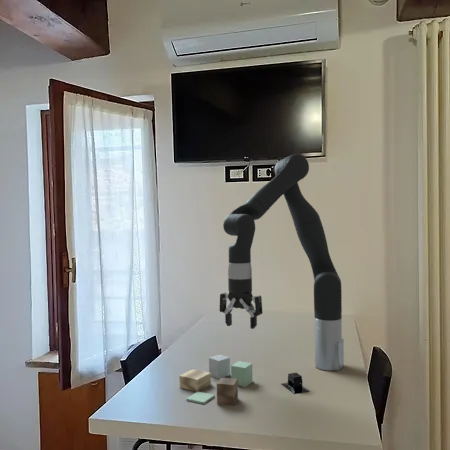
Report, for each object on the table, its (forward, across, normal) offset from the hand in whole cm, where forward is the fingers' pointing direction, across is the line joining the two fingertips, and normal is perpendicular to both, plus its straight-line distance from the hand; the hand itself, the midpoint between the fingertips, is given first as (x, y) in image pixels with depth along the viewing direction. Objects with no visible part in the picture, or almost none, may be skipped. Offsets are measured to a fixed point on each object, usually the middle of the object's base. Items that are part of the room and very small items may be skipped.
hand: (240, 326), depth 157 cm
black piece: (+19, -17, -4) cm, 25 cm away
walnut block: (+18, -3, +15) cm, 24 cm away
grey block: (+18, +10, -3) cm, 21 cm away
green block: (+18, 0, 0) cm, 18 cm away
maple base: (+18, +12, +9) cm, 24 cm away
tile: (+18, +5, +17) cm, 25 cm away
